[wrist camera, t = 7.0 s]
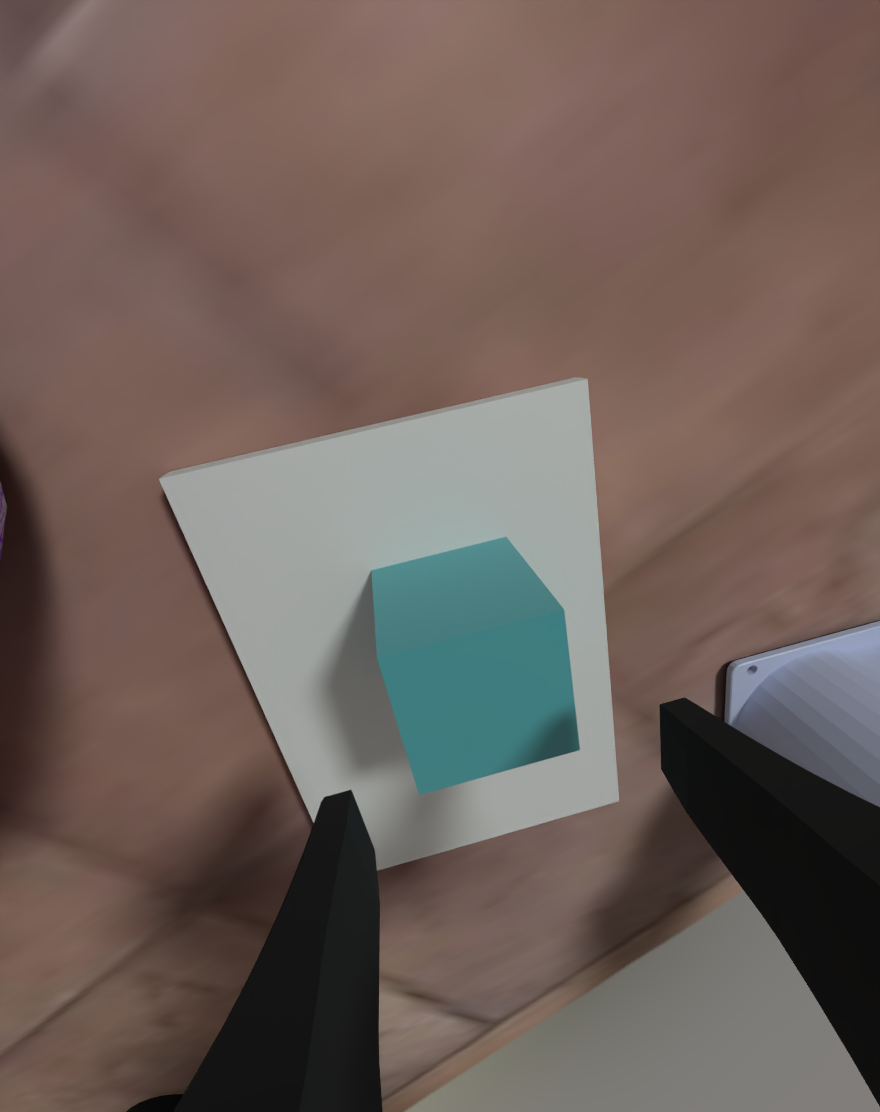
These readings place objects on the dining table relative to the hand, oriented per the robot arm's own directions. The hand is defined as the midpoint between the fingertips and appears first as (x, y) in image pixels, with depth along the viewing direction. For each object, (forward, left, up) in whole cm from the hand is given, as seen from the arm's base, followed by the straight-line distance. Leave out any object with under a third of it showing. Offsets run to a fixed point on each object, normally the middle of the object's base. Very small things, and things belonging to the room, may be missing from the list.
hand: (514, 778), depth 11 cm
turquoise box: (0, 0, -8) cm, 8 cm away
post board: (+1, +3, -9) cm, 10 cm away
